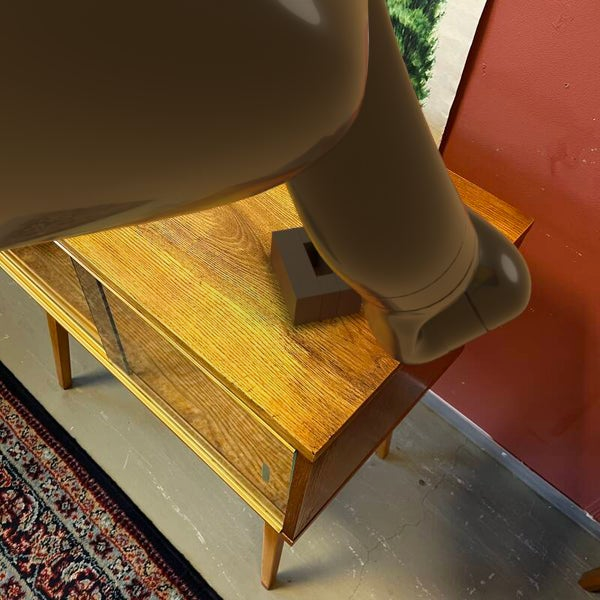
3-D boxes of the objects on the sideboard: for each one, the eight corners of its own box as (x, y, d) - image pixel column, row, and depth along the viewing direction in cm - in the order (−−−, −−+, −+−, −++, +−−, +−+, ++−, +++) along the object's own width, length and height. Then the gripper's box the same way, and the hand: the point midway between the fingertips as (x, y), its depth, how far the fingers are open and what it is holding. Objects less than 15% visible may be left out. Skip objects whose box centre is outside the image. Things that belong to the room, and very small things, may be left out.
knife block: (293, 326, 75) (296, 299, 71) (269, 259, 80) (271, 231, 76) (359, 312, 76) (366, 285, 72) (332, 248, 82) (337, 220, 78)
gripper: (451, 81, 51) (373, -31, 61) (275, 101, 48) (222, -21, 57) (428, 157, 57) (360, 43, 67) (271, 180, 54) (224, 57, 63)
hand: (297, 14), depth 62 cm, fingers closed on knife, 2 cm apart
